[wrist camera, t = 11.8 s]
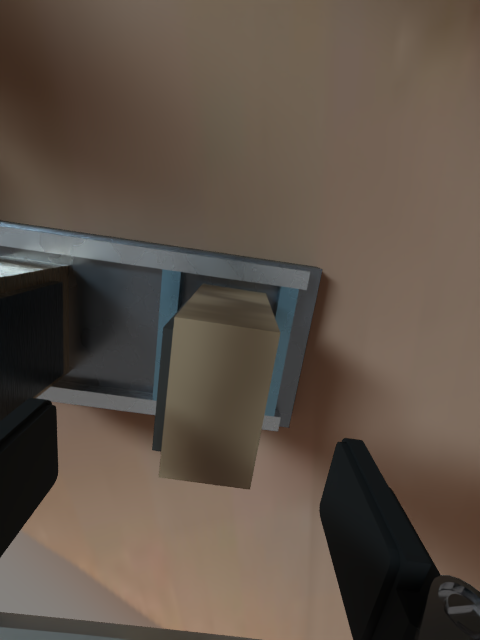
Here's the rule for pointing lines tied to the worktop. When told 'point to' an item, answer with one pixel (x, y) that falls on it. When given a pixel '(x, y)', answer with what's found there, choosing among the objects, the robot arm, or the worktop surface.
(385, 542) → the robot arm
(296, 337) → the rail
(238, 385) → the tan wooden block
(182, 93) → the worktop surface
